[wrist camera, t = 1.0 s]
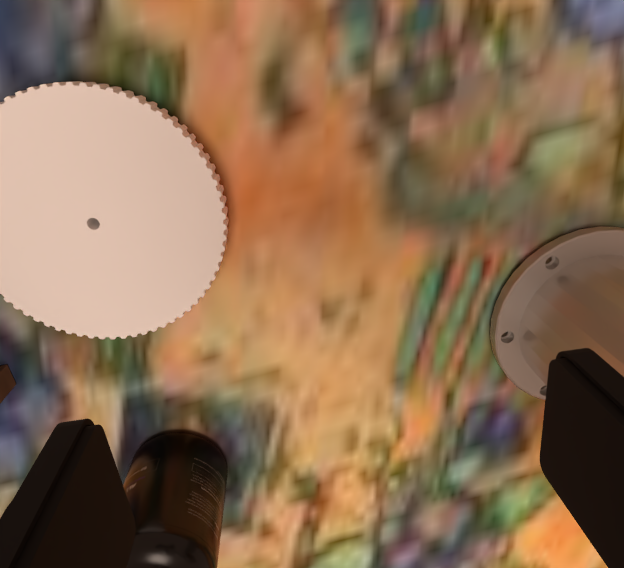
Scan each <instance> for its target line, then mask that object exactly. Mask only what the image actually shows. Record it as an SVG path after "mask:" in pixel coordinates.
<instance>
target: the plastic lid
mask: <svg viewBox="0 0 624 568" xmlns="http://www.w3.org/2000/svg"><path fill="white" fill-rule="evenodd" d="M15 95H16V96H8V97H6V98H4V100H5V102H0V294H2V295H3V296H4V300H5V301H6V302H11V303H13V304H14V305H13V307H14V308H15V309H17V310H18V309H21V310H22V311H23V314H24V315H26V316H29V315H30V316H32V317H34V319H33V320H35V321H37V322H39V321H42V322H44V325H45V326H47V327H49V326H53V327H55V330H58V331H60V330H61V329H62V330H65V331H66V333H67V334H71V333H76V334H77V336H80V337H82V336H83V335H87V336H88V338H94V336H97V337H99V339H105V337H110V339H116V337H121V338H122V339H123V338H126V337H127V336H128V335H131V336H132V337H136V336H137V335H138V334H139V333H141V334H142V335H145V334H147V332H148V331H150V330H151V331H152V332H154V331H157V329H158V327H162V328H164V327H166V325H167V323H168V322H170V323H173V322H175V320H176V318H177V317H179V318H181V317H183V316H184V313H185V311H187V312H189V311H190V310H191V309H192V306H193V304H194V305H196V304H197V303H198V302H199V299H200V297H203V296H204V295H205V293H206V289H209V288H210V287H211V283H212V281H214V279H215V277H216V274H217V271H219V268H220V264H221V261H222V259H223V255H224V251H225V246H226V243H227V234H228V228H227V225H228V222H229V219H228V217H226V216H227V213H228V207H226V206H225V203H226V196H223V194H222V193H223V191H224V187H223V185H220V184H219V181H220V176H219V174H216V173H215V171H214V170H215V169H216V167H215V165H214V164H211V163H210V161H209V159H210V156H209V154H208V153H204V152H203V150H202V149H203V148H204V147H203V145H202V144H201V143H199V144H198V143H197V142H196V141H195V139H196V136H195V135H194V134H193V133H192V134H189V133H188V132H187V129H188V128H187V127H186V126H185V125H184V124H183V125H180V124H179V123H178V118H177V117H175V116H172V117H171V116H169V115H168V111H167V110H166V109H165V108H163V109H159V108H158V107H157V103H155V102H153V101H152V102H147V101H146V97H144V96H142V95H140V96H135V95H134V92H132V91H130V90H127V91H122V88H121V87H117V86H115V87H109V85H108V84H96V82H83V81H76V82H56V83H53V84H42V85H40V86H38V87H29V88H27V90H26V91H18V92H16V93H15Z"/></svg>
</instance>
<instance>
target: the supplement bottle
mask: <svg viewBox="0 0 624 568" xmlns="http://www.w3.org/2000/svg"><path fill="white" fill-rule="evenodd" d="M226 484H227V465H226V461H225V459H224V457H223V455H222V454H221V452H220V451H219V450H218V448H217V447H216V446H214V445H213V444H212V443H211V442H209V441H208V440H206V439H204V438H202V437H199V436H197V435H193V434H188V433H169V434H164V435H161V436H158V437H155V438H153V439H151V440H150V441H148V442H147V443H145V444H144V445H143V446H142V447H141V448H140V449H139V450H138V451H137V453H136V454H135V456H134V458H133V460H132V463H131V465H130V468H129V470H128V473H127V476H126V479H125V481H124V484H123V487H124V490H125V493H126V496H127V499H128V501H129V504H130V507H131V510H132V513H133V516H134V519H135V525H136V532H135V539H134V542H133V546H132V550H131V553H130V557H129V561H128V564H127V568H217V563H218V554H219V545H220V537H221V528H222V519H223V511H224V502H225V494H226Z"/></svg>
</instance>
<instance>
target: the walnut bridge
mask: <svg viewBox="0 0 624 568" xmlns="http://www.w3.org/2000/svg"><path fill="white" fill-rule="evenodd" d="M15 385H16V382H15V380H14V378H13V376H12V374H11V372H10V369H9V367H8V365H2V366H0V403H1V402H2V401H3V400H4V398H5V397H6V396H7V395H8V393H9V392H10V391H11V390H12V389H13V387H14V386H15Z"/></svg>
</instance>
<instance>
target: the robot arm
mask: <svg viewBox="0 0 624 568" xmlns="http://www.w3.org/2000/svg"><path fill="white" fill-rule="evenodd" d="M490 339H491V345H492V351H493V353H494V356H495V358H496V360H497V363H498V365H499V366H500V367H501V369H502V370H503V372H504V373H505V374H506V376H507V377H508V378H509V379H510V380H511V381H512V382H513V383H514V384H515V385H516V386H517V387H518V388H520V389H521V390H523V391H524V392H526V393H527V394H529V395H531V396H534V397H536V398H539V399H542V400H545V410H544V420H543V430H542V440H541V450H540V464H541V468H542V471H543V473H544V475H545V477H546V478H547V480H548V481H549V483H550V484H551V485H552V487H553V488H554V490H555V491H556V493H557V494H558V496H559V497H560V498H561V500H562V501H563V503H564V504H565V506H566V507H567V509H568V510H569V511H570V513H571V514H572V516H573V517H574V519H575V520H576V522H577V523H578V525H579V526H580V527H581V529H582V530H583V532H584V533H585V535H586V536H587V538H588V539H589V540H590V542H591V543H592V545H593V546H594V548H595V549H596V551H597V552H598V553H599V555H600V556H601V558H602V559H603V561H604V562H605V564H606V565H607V567H608V568H624V228H620V227H605V226H598V227H592V228H586V229H580V230H577V231H574V232H571V233H569V234H566V235H563V236H560V237H559V238H557V239H555V240H553V241H551V242H549V243H547V244H546V245H544V246H542V247H541V248H540V249H538V250H537V251H536V252H534V253H533V254H532V255H530V256H529V257H528V258H527V259H526V260H525V261H524V262H523V263H522V264H521V265H520V266H519V267H518V268H517V269H516V270H515V271H514V272H513V274H512V275H511V277H510V278H509V279H508V281H507V282H506V284H505V285H504V287H503V288H502V290H501V293H500V295H499V297H498V299H497V301H496V303H495V306H494V310H493V314H492V318H491V327H490ZM135 532H136V525H135V519H134V516H133V513H132V510H131V507H130V504H129V501H128V499H127V496H126V493H125V490H124V487H123V484H122V481H121V478H120V475H119V473H118V470H117V467H116V464H115V461H114V458H113V455H112V452H111V450H110V447H109V444H108V441H107V438H106V435H105V432H104V430H103V428H102V426H101V425H94V423H93V422H92V421H91V420H90V419H83V420H76V421H69V422H62V423H59V424H58V425H57V426H56V427H55V429H54V430H53V432H52V434H51V435H50V437H49V439H48V441H47V442H46V444H45V446H44V447H43V449H42V451H41V453H40V454H39V456H38V458H37V459H36V461H35V463H34V465H33V466H32V468H31V470H30V471H29V473H28V475H27V477H26V478H25V480H24V482H23V483H22V485H21V487H20V489H19V490H18V492H17V494H16V495H15V497H14V499H13V501H12V502H11V503H10V504H9V506H8V507H7V508H6V510H5V512H4V513H3V515H2V517H1V519H0V568H127V564H128V561H129V557H130V553H131V550H132V546H133V542H134V539H135Z"/></svg>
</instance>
